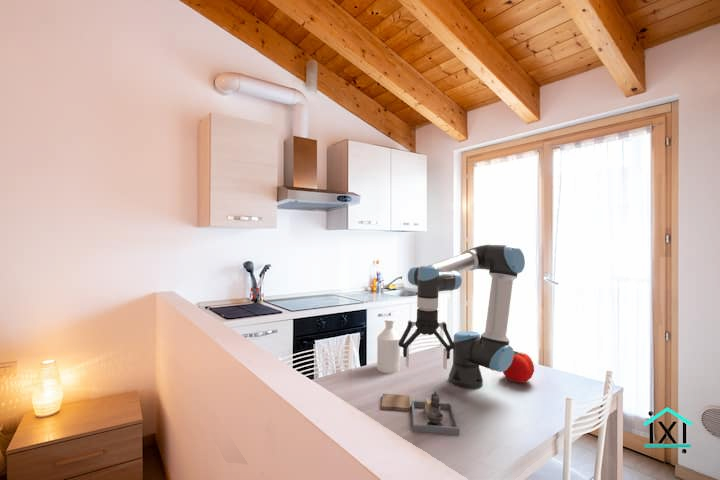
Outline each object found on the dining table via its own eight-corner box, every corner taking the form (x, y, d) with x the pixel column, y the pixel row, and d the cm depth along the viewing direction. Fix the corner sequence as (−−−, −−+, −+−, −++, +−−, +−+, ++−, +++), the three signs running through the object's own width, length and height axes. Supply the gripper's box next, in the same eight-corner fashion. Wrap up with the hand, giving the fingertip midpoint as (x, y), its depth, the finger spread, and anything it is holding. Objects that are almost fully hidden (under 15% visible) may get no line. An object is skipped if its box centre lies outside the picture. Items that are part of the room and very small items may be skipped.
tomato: (497, 374, 175) (497, 346, 175) (525, 375, 175) (526, 347, 174) (509, 387, 159) (510, 357, 159) (540, 388, 159) (541, 358, 159)
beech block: (436, 409, 138) (436, 398, 138) (439, 415, 134) (440, 403, 134) (425, 409, 138) (425, 398, 138) (428, 415, 133) (428, 403, 133)
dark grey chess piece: (424, 420, 130) (425, 387, 129) (440, 420, 130) (440, 387, 130) (429, 429, 124) (429, 395, 124) (445, 428, 124) (446, 394, 124)
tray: (451, 408, 139) (451, 403, 139) (459, 434, 121) (459, 428, 121) (411, 405, 141) (411, 400, 141) (413, 430, 123) (413, 425, 122)
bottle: (384, 362, 188) (385, 315, 188) (404, 368, 181) (405, 319, 181) (372, 369, 178) (373, 319, 178) (392, 375, 171) (393, 323, 171)
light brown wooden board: (409, 398, 147) (409, 395, 147) (410, 411, 136) (410, 408, 136) (382, 396, 148) (382, 393, 148) (381, 409, 138) (381, 406, 137)
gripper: (459, 307, 132) (458, 364, 132) (392, 305, 134) (391, 361, 134) (464, 312, 125) (462, 372, 125) (393, 309, 126) (391, 368, 127)
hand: (425, 366), depth 130 cm, fingers open, 13 cm apart
